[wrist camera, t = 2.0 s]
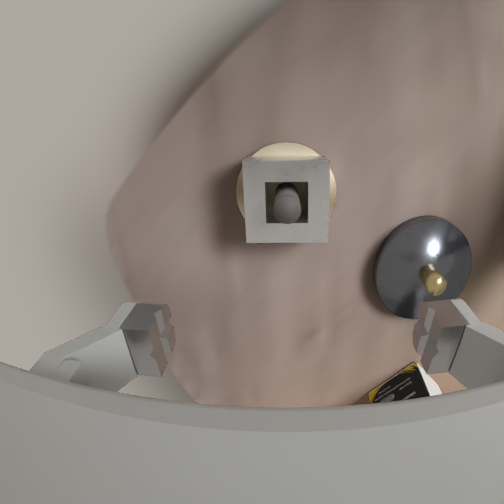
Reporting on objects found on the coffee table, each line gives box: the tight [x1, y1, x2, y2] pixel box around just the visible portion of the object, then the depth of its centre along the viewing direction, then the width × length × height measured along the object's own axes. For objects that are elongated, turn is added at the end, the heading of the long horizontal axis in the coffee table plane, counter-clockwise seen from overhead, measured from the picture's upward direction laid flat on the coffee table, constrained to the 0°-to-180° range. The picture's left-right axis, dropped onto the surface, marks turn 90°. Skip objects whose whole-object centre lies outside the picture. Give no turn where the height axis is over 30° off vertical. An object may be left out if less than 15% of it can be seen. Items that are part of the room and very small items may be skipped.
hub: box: [373, 216, 472, 319], centre depth 26 cm, size 10×10×4 cm
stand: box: [236, 142, 337, 224], centre depth 23 cm, size 8×8×6 cm
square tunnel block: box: [242, 156, 330, 243], centre depth 24 cm, size 6×6×3 cm
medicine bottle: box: [368, 362, 442, 404], centre depth 29 cm, size 7×7×12 cm
